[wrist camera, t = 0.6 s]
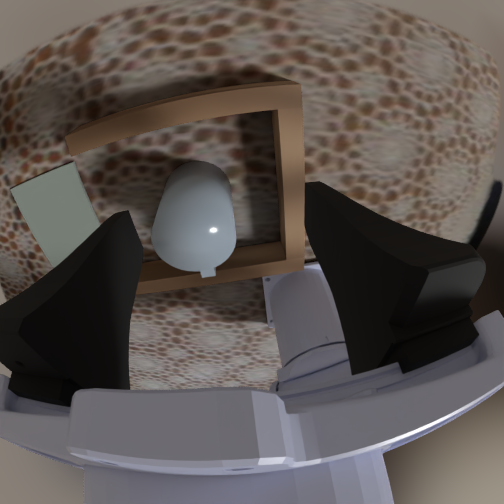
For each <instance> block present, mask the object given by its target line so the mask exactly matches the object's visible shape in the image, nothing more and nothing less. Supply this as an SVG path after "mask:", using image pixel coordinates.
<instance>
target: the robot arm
mask: <svg viewBox="0 0 504 504" xmlns="http://www.w3.org/2000/svg"><path fill="white" fill-rule="evenodd" d="M304 226H305V229H306V233H307V236H308V239H309V242H310V245H311V247H312V249H313V252H314V254H315V256H316V258H317V260H318V262H312V263H306V264H304V270H302V271H296V272H290V273H284V274H278V275H272V276H265V277H262V279H263V288H264V296H265V305H266V313H267V322H268V327H269V328H275V332H276V337H277V342H278V348H279V353H280V358H281V363H282V368H281V369H278V370H277V376H278V381H275V382H273V383H272V384H271V386H270V390H269V391H268V390H263V389H257V388H252V387H211V388H197V389H177V390H130V382H129V330H130V319H131V313H132V308H133V303H134V299H135V294H136V290H137V286H138V281H139V277H140V273H141V268H142V260H143V249H144V248H143V246H142V244H141V241H140V239H139V236H138V234H137V231H136V229H135V226H134V224H133V221H132V218H131V216H130V213H129V211H128V210H127V211H122V212H118V213H115V214H113V215H112V216H111V217H109V218H108V219H107V220H106V221H105V222H104V223H102V224H101V225H100V226H99V227H98V228H97V229H96V230H95V231H94V232H93V233H92V234H91V235H90V236H89V237H88V238H87V239H86V240H85V241H84V242H82V243H81V244H80V245H79V246H78V247H77V248H76V249H75V250H74V251H73V252H72V253H71V254H70V255H69V256H68V257H66V258H65V259H64V260H63V261H62V262H61V263H60V264H58V265H57V266H56V267H55V268H54V269H52V270H51V271H50V272H49V273H48V274H46V275H45V276H44V277H42V278H41V279H40V280H38V281H37V282H36V283H34V284H33V285H32V286H30V287H29V288H27V289H26V290H24V291H23V292H22V293H20V294H18V295H17V296H15V297H14V298H12V299H11V300H9V301H7V302H5V303H4V304H2V305H0V362H1V363H2V364H4V365H5V366H6V367H7V368H8V369H9V370H10V371H12V374H11V378H9V377H7V376H5V375H2V374H0V437H1V438H3V439H5V440H7V441H9V442H11V443H13V444H15V445H17V446H19V447H21V448H24V449H26V450H29V451H31V452H33V453H36V454H38V455H41V456H44V457H47V458H50V459H52V460H55V461H58V462H61V463H64V464H68V465H71V466H74V467H78V468H81V469H84V504H394V501H393V497H392V492H391V488H390V483H389V479H388V475H387V471H386V467H385V463H384V459H383V455H382V454H383V453H384V452H386V451H389V450H391V449H394V448H396V447H399V446H401V445H403V444H406V443H408V442H410V441H412V440H415V439H417V438H419V437H421V436H423V435H425V434H427V433H429V432H431V431H433V430H435V429H437V428H439V427H441V426H443V425H445V424H446V423H448V422H450V421H452V420H453V419H455V418H457V417H459V416H460V415H462V414H464V413H465V412H467V411H469V410H470V409H472V408H473V407H475V406H477V405H478V404H480V403H481V402H482V401H484V400H485V399H487V398H489V397H490V396H491V395H493V394H494V393H495V392H496V391H498V390H499V389H500V388H502V387H503V386H504V319H503V317H502V315H501V314H500V312H499V311H498V310H496V311H494V312H492V313H490V314H488V315H486V316H484V317H482V318H480V319H479V320H477V321H476V322H475V323H474V324H473V323H472V321H471V319H470V316H471V315H472V313H473V311H472V310H471V308H470V306H469V305H468V304H469V303H470V301H471V299H472V298H473V296H474V295H475V293H476V291H477V290H478V288H479V286H480V284H481V282H482V280H483V278H484V274H485V269H486V268H485V262H484V261H483V259H482V258H481V256H480V255H479V254H478V253H477V251H476V250H475V249H474V248H473V247H472V246H471V245H469V244H464V243H460V242H456V241H451V240H447V239H443V238H440V237H436V236H433V235H430V234H427V233H424V232H420V231H418V230H415V229H412V228H410V227H407V226H404V225H402V224H399V223H397V222H395V221H392V220H390V219H388V218H386V217H384V216H381V215H379V214H377V213H375V212H373V211H372V210H370V209H368V208H366V207H364V206H362V205H360V204H359V203H357V202H355V201H353V200H352V199H350V198H348V197H347V196H345V195H343V194H341V193H340V192H338V191H336V190H335V189H333V188H331V187H330V186H328V185H326V184H324V183H322V182H320V181H318V182H307V183H305V206H304ZM266 278H268V279H266Z"/></svg>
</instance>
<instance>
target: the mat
mask: <svg viewBox="0 0 504 504" xmlns="http://www.w3.org/2000/svg"><path fill="white" fill-rule="evenodd" d="M10 190H11V192H12V194H13V197H14V199H15V201H16V203H17V205H18V207H19V209H20V211H21V213H22V215H23V217H24V219H25V221H26V222H27V224H28V226H29V228H30V230H31V232H32V233H33V235H34V237H35V239H36V240H37V242H38V244H39V246H40V247H41V249H42V250H43V252H44V254H45V255H46V257H47V259H48V260H49V262H50V263H51V265H52V266H53V268H55V267H56V266H57V265H58V264H60V263H61V262H62V261H63V260H64V259H65V258H66V257H68V256H69V255H70V254H71V253H72V252H73V251H74V250H75V249H76V248H77V247H78V246H79V245H80V244H81V243H82V242H84V241H85V240H86V239H87V238H88V237H89V236H90V235H91V234H92V233H93V232H94V231H95V230H96V229H97V228H98V227H99V226H100V222H99V220H98V218H97V216H96V214H95V211H94V209H93V207H92V205H91V202H90V200H89V198H88V195H87V193H86V191H85V188H84V186H83V183H82V181H81V178H80V176H79V173H78V170H77V168H76V165H75V162H71V163H69V164H66V165H63V166H61V167H58V168H56V169H53V170H51V171H49V172H46V173H44V174H42V175H39V176H37V177H35V178H33V179H30V180H28V181H26V182H24V183H22V184H20V185H18V186H16V187H14V188H12V189H10Z"/></svg>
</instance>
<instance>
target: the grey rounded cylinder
mask: <svg viewBox="0 0 504 504" xmlns="http://www.w3.org/2000/svg"><path fill="white" fill-rule="evenodd" d="M151 240H152V245H153V247H154V249H155V251H156V253H157V254H158V256H159V257H160V258H161V259H162V260H164V261H165V262H166V263H168V264H169V265H171V266H173V267H175V268H178V269H181V270H186V271H200V272H201V275H202V278H204V277H211V276H216V267H217V266H218V265H220V264H222V263H223V262H224V261H226V260H227V259H228V258H229V256H230V255H231V254H232V252H233V250H234V248H235V244H236V230H235V221H234V212H233V203H232V194H231V185H230V182H229V179H228V177H227V176H226V174H225V173H224V172H223V171H222V170H221V169H220V168H219V167H217V166H215V165H214V164H211V163H208V162H204V161H193V162H188V163H185V164H183V165H181V166H179V167H178V168H176V169H175V170H174V171H173V172H172V173H171V175H170V176H169V178H168V180H167V183H166V186H165V189H164V192H163V195H162V198H161V201H160V204H159V207H158V211H157V214H156V217H155V221H154V224H153V228H152V232H151Z"/></svg>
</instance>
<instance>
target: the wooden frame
mask: <svg viewBox="0 0 504 504" xmlns="http://www.w3.org/2000/svg"><path fill="white" fill-rule="evenodd" d="M267 110H271V114H272V125H273V137H274V149H275V162H276V175H277V189H278V204H279V220H280V237H281V241H277V242H271V243H264V244H258V245H252V246H245V247H239V248H234V250H233V252H232V254H231V255H230V256H229V258H228V259H227V260H226V261H224V262H223V263H222V264H220V265H218V266H217V267H216V276H211V277H204V278H202V275H201V272H200V271H186V270H181V269H178V268H175V267H173V266H171V265H169V264H168V263H166V262H165V261H164V260H157V261H151V262H145V263H142V268H141V273H140V277H139V281H138V286H137V290H136V295H139V294H147V293H155V292H163V291H170V290H178V289H185V288H192V287H199V286H206V285H213V284H220V283H226V282H233V281H240V280H246V279H253V278H259V277H265V276H272V275H278V274H284V273H290V272H296V271H302V270H304V253H305V226H304V206H305V162H304V131H303V109H302V92H301V84H299V83H296V82H294V81H291V80H288V81H272V82H261V83H251V84H243V85H235V86H228V87H221V88H215V89H209V90H204V91H198V92H193V93H188V94H184V95H179V96H175V97H170V98H166V99H162V100H158V101H154V102H151V103H147V104H143V105H140V106H136V107H133V108H130V109H127V110H123V111H120V112H117V113H114V114H111V115H108V116H106V117H103V118H100V119H97V120H95V121H92V122H89V123H87V124H84V125H82V126H79V127H78V128H76V129H75V130H74V131H72V132H71V133H69V134H68V135H66V136H65V140H66V143H67V146H68V149H69V152H70V155H71V157H72V156H74V155H77V154H80V153H82V152H85V151H88V150H91V149H94V148H97V147H100V146H103V145H106V144H109V143H112V142H115V141H118V140H121V139H125V138H128V137H132V136H135V135H139V134H142V133H146V132H150V131H154V130H158V129H162V128H166V127H170V126H175V125H179V124H184V123H189V122H194V121H199V120H204V119H210V118H215V117H221V116H228V115H234V114H242V113H249V112H258V111H267Z"/></svg>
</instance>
